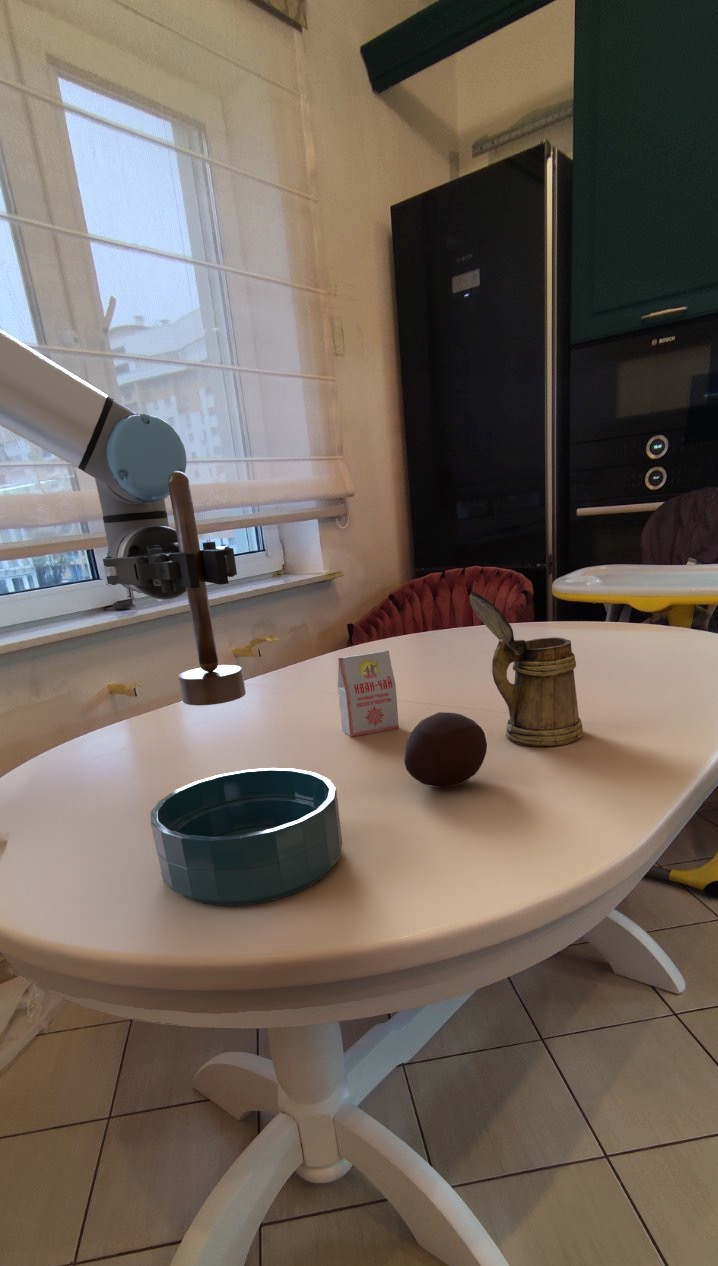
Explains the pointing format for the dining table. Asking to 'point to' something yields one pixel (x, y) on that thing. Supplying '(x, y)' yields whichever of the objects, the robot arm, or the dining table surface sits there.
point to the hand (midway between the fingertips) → (207, 569)
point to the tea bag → (367, 694)
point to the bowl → (247, 835)
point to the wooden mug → (533, 682)
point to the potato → (445, 750)
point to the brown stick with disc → (200, 614)
